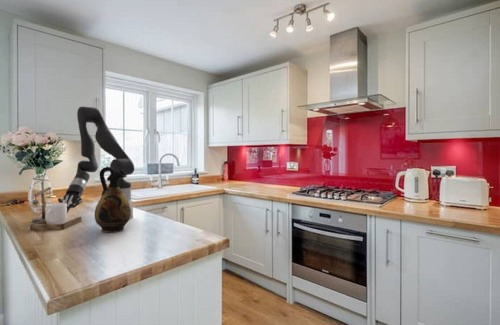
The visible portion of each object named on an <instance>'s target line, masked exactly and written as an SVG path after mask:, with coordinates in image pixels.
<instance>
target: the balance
mask: <svg viewBox="0 0 500 325" xmlns="http://www.w3.org/2000/svg"><path fill="white" fill-rule="evenodd" d="M51 190H52V187H50V186H49V187H47V188H45V189H42V190H40V191H38V192H36V193H34V194H33V196H34V198H35V199H34V200H33V199H32V203H30V204H28V207H39V206H41V216H39V217H36V218H33V219H32V220H31V221H32V222H33V223H37V222H40V221H43V220H45V216H46V212H47V211H46V199H55V198H57V195H47V196H46V192H48V191H49V194H51ZM38 196H40V199H41V202H40V200H39V199H37V197H38Z"/></svg>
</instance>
